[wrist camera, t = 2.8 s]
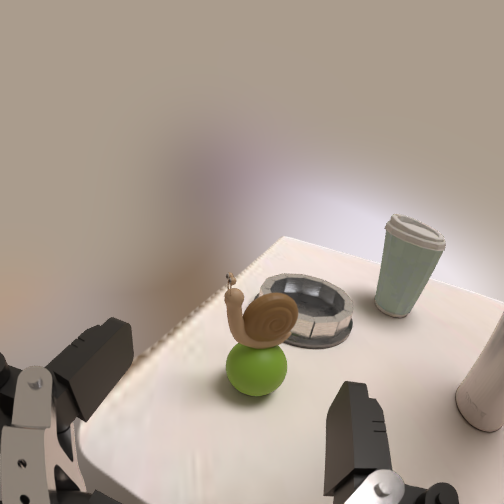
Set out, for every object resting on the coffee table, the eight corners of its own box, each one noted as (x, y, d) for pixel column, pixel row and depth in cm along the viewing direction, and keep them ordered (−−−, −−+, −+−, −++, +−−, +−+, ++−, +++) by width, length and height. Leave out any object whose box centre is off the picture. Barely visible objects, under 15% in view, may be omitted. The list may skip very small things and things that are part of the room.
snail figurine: (207, 370, 26) (218, 258, 21) (267, 363, 28) (293, 259, 24) (220, 413, 21) (238, 296, 17) (288, 401, 23) (327, 291, 19)
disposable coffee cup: (424, 313, 42) (454, 233, 37) (404, 334, 35) (443, 238, 30) (378, 288, 50) (402, 212, 44) (350, 302, 43) (377, 212, 37)
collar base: (326, 291, 46) (331, 273, 44) (368, 343, 33) (377, 323, 32) (243, 288, 42) (247, 269, 41) (265, 351, 30) (271, 328, 28)
